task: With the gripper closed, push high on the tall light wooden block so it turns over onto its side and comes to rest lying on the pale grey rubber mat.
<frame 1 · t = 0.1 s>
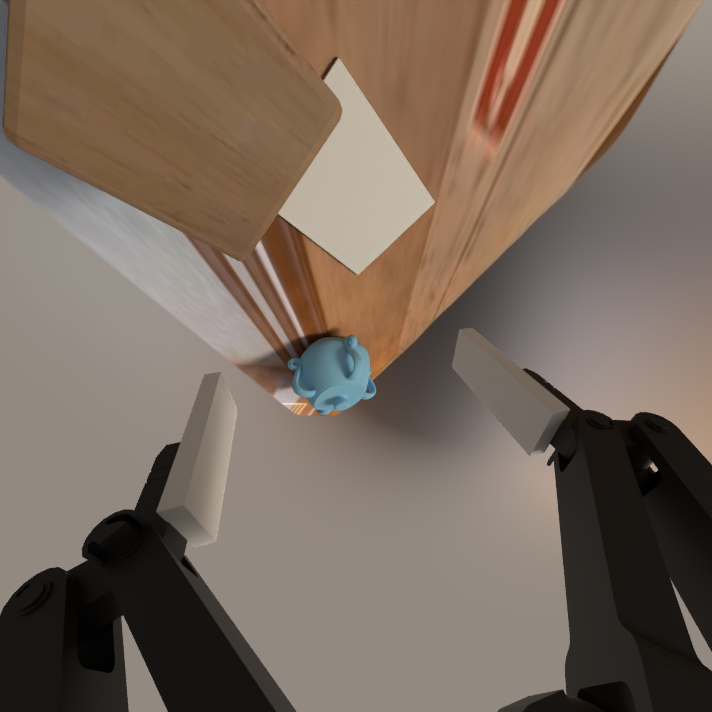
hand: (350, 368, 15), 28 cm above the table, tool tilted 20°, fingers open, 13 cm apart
mat: (350, 196, 34), on the table
decorative pot: (329, 352, 60), on the table
wooden block: (215, 54, 23), on the table
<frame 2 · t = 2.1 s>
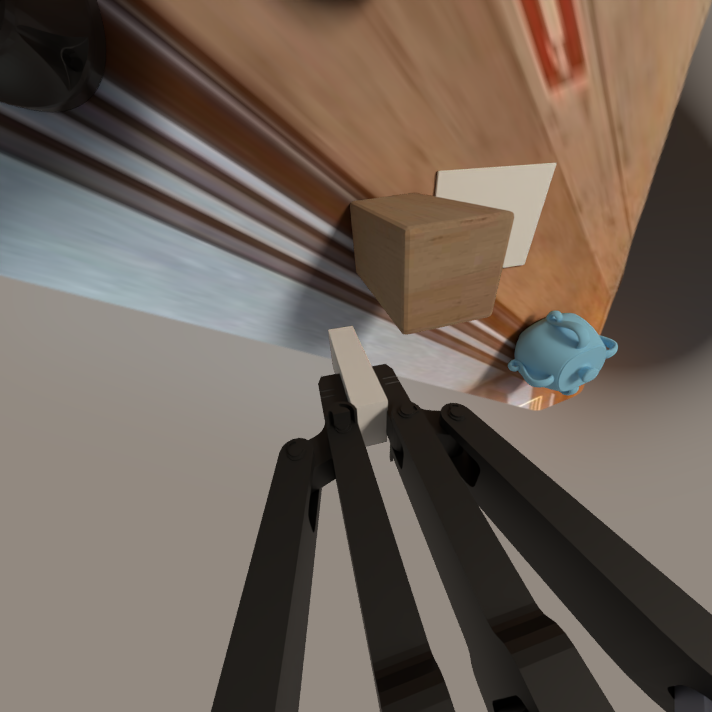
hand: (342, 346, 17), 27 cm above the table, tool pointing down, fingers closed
mat: (485, 224, 43), on the table
decorative pot: (535, 339, 62), on the table
wooden block: (384, 234, 40), on the table
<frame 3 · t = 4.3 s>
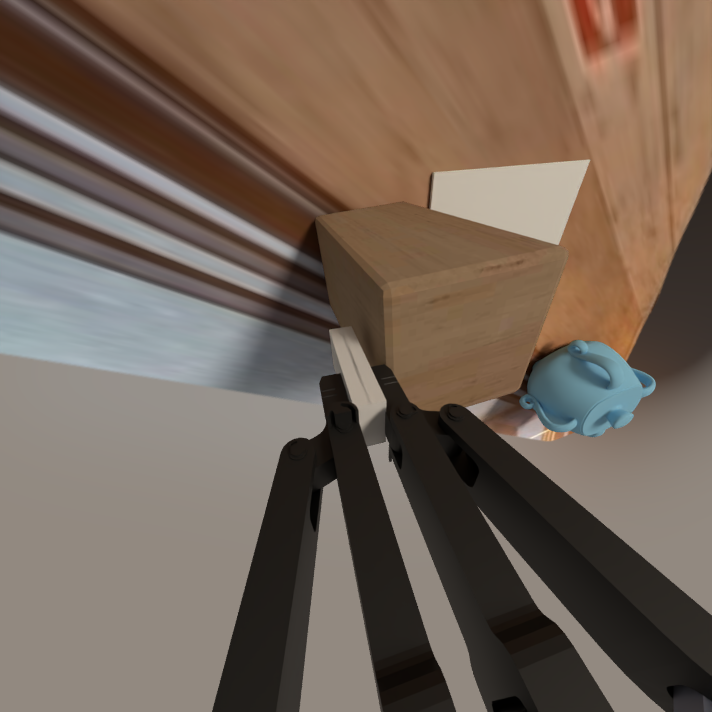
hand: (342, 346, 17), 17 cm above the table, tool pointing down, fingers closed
mat: (496, 239, 33), on the table
decorative pot: (552, 368, 52), on the table
wooden block: (364, 256, 31), on the table, touching gripper
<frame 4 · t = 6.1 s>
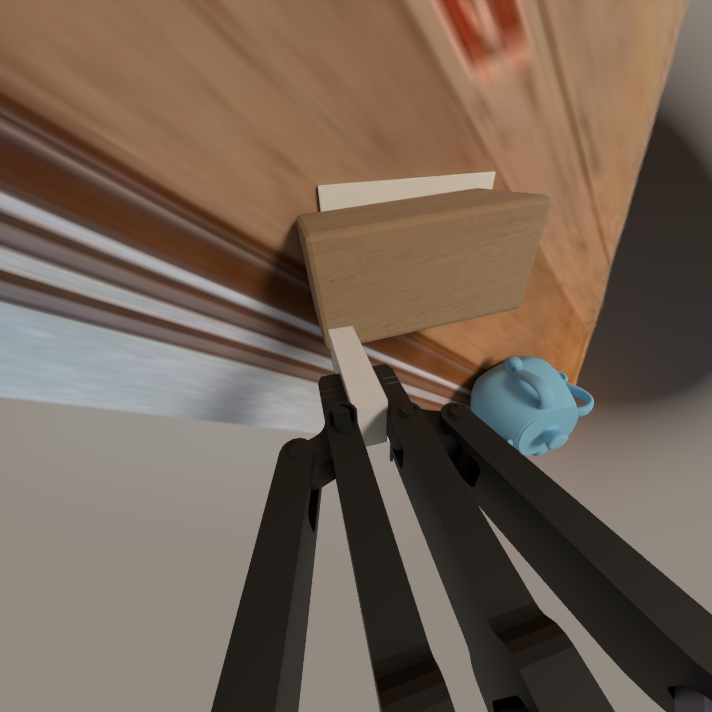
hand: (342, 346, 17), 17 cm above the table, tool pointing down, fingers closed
mat: (406, 254, 32), on the table
decorative pot: (497, 383, 50), on the table
wooden block: (307, 281, 25), point 5 cm above the table, touching mat
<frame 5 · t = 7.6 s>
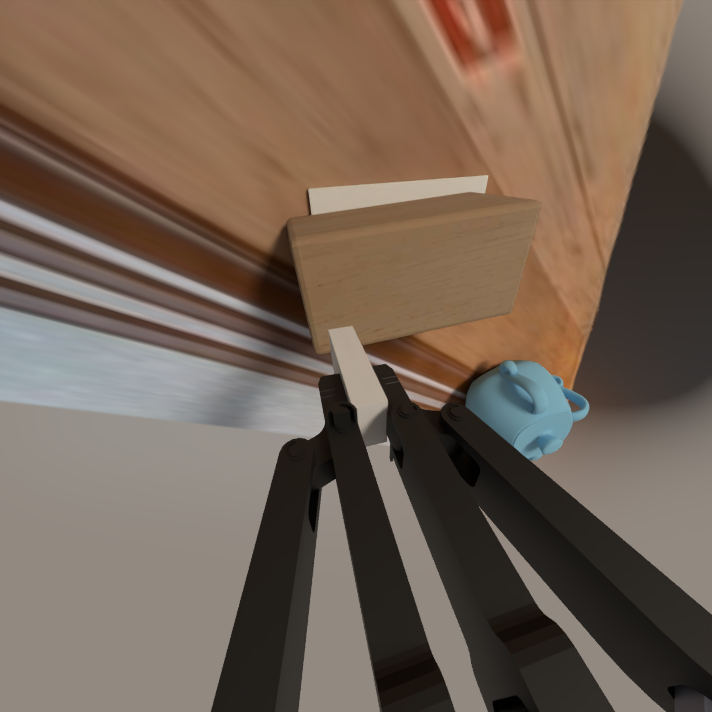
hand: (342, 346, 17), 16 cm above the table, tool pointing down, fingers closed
mat: (398, 257, 31), on the table
decorative pot: (493, 387, 50), on the table
wooden block: (297, 285, 25), point 5 cm above the table, touching mat
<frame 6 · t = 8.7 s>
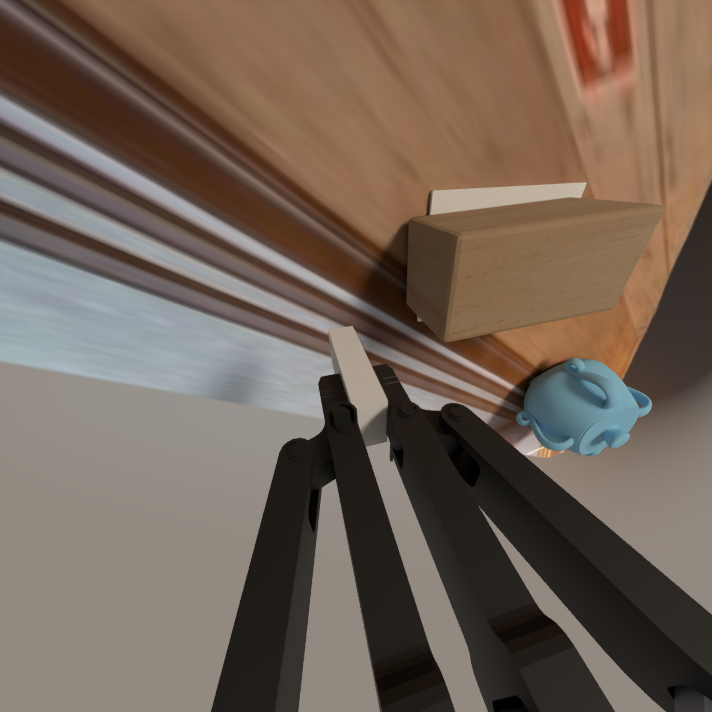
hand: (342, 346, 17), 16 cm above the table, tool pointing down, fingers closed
mat: (493, 257, 34), on the table
decorative pot: (548, 385, 52), on the table
wooden block: (422, 278, 27), point 5 cm above the table, touching mat
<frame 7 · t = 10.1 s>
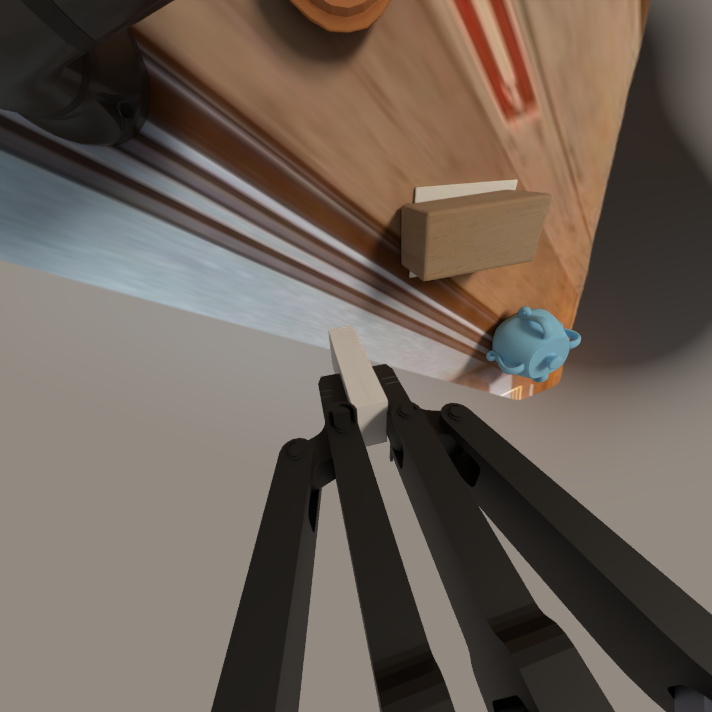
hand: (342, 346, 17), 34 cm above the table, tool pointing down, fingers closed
mat: (459, 231, 50), on the table
decorative pot: (511, 332, 69), on the table
wooden block: (410, 243, 44), point 5 cm above the table, touching mat
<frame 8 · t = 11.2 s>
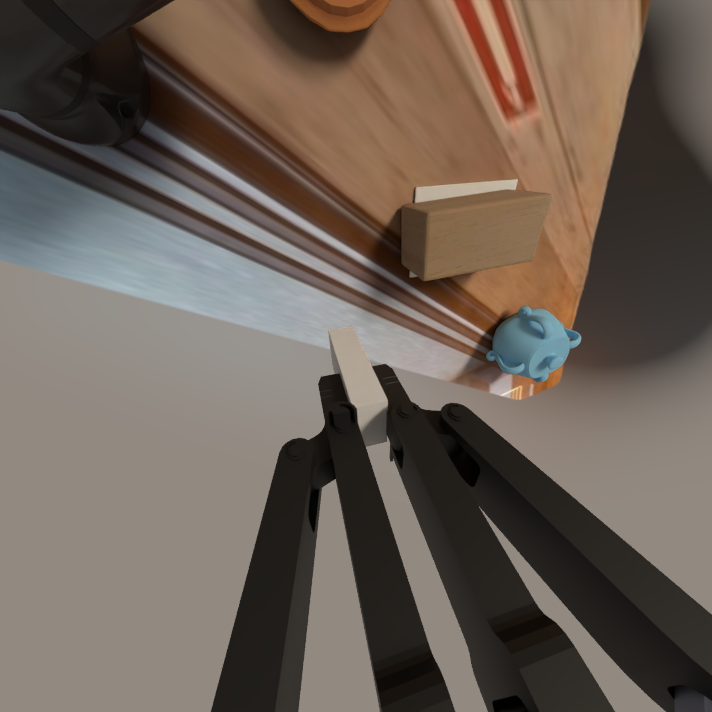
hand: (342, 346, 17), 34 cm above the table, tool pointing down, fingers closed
mat: (459, 230, 50), on the table
decorative pot: (512, 332, 69), on the table
wooden block: (410, 243, 44), point 5 cm above the table, touching mat
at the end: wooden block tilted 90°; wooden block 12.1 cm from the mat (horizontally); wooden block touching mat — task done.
